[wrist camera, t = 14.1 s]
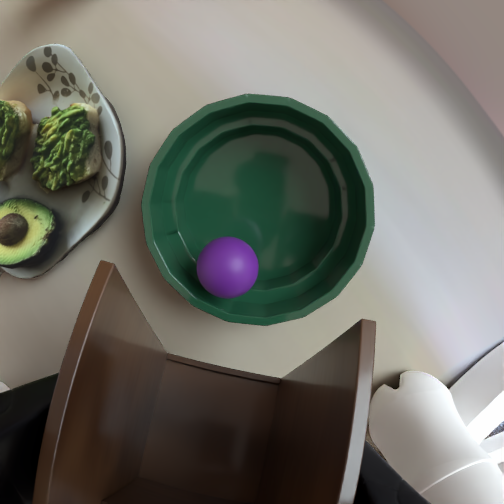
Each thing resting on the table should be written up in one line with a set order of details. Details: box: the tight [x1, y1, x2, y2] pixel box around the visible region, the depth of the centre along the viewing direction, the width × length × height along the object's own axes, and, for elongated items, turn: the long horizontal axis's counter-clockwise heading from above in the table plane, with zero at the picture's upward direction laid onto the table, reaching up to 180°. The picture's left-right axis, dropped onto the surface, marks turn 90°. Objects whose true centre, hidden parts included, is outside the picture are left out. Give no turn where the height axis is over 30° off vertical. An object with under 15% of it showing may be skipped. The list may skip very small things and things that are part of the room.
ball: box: [197, 237, 259, 299], centre depth 17 cm, size 3×3×3 cm
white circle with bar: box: [449, 342, 504, 475], centre depth 21 cm, size 28×28×5 cm
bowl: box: [141, 94, 375, 326], centre depth 18 cm, size 12×12×4 cm
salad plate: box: [0, 43, 126, 279], centre depth 18 cm, size 19×18×5 cm
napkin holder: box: [32, 260, 376, 504], centre depth 9 cm, size 7×6×10 cm
